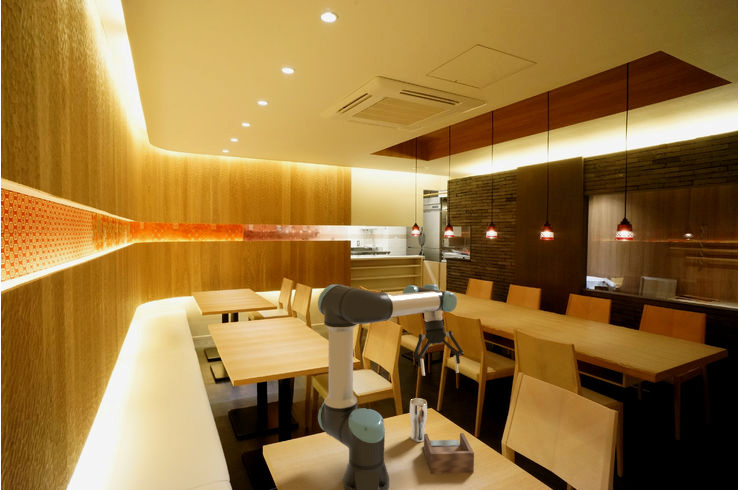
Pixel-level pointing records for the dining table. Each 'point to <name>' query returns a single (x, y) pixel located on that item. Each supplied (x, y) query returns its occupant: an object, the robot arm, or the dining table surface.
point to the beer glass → (418, 418)
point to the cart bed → (449, 455)
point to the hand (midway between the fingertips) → (440, 374)
